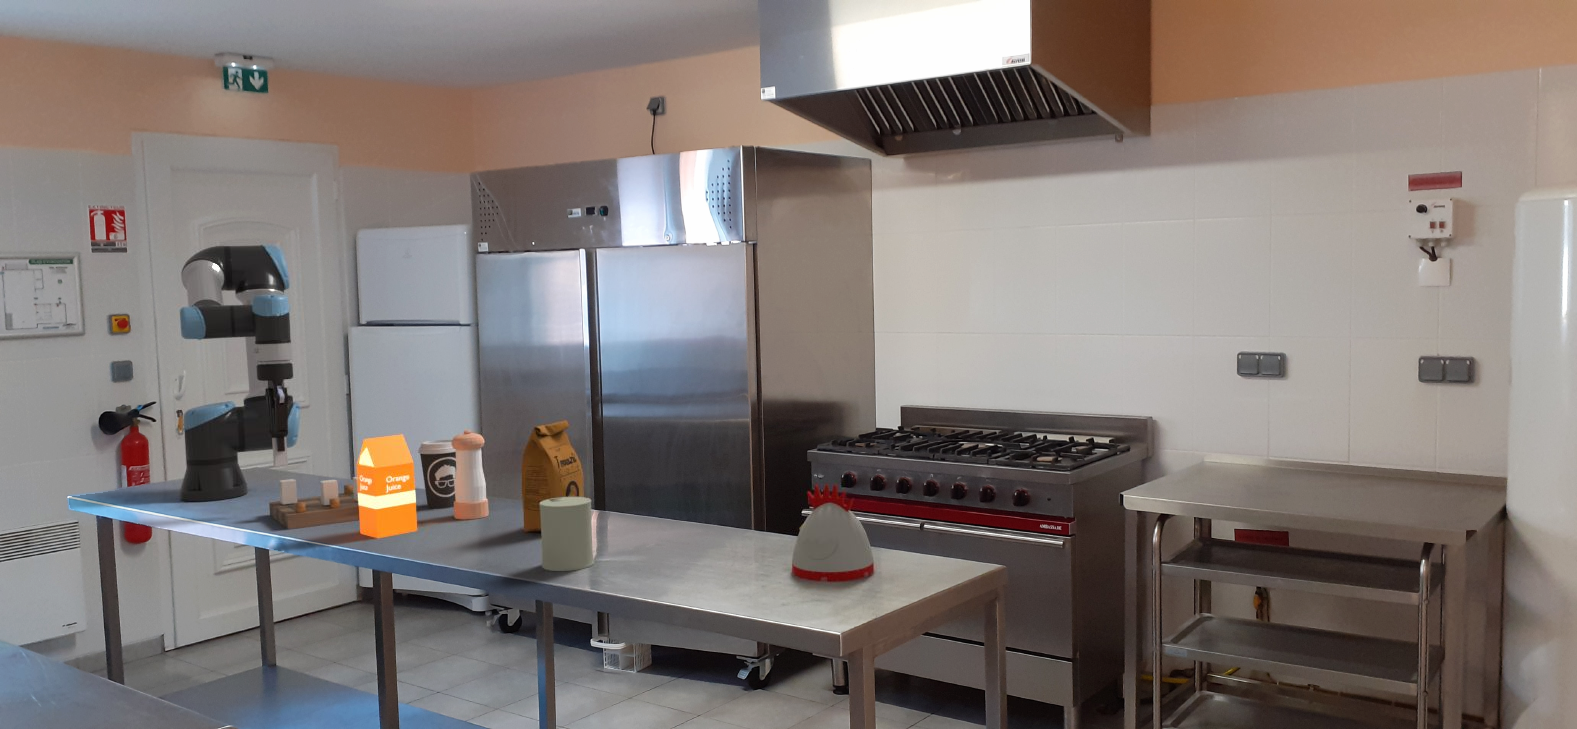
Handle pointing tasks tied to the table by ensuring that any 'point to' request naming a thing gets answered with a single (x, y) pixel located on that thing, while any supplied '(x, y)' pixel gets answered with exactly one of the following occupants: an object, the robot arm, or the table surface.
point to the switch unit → (316, 510)
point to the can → (566, 533)
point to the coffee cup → (439, 472)
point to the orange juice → (386, 487)
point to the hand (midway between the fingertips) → (280, 465)
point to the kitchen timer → (832, 541)
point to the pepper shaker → (469, 477)
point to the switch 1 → (288, 491)
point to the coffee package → (548, 471)
